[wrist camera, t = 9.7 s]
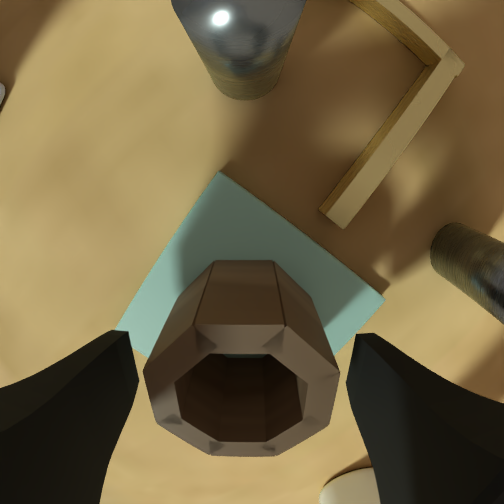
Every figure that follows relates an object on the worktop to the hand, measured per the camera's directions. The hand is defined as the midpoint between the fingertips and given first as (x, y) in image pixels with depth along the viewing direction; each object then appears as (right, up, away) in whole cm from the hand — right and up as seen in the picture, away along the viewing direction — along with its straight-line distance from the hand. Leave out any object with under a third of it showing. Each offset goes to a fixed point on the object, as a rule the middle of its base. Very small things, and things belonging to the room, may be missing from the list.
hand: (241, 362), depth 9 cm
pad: (0, +1, +3) cm, 3 cm away
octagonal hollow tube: (0, +1, +2) cm, 3 cm away
